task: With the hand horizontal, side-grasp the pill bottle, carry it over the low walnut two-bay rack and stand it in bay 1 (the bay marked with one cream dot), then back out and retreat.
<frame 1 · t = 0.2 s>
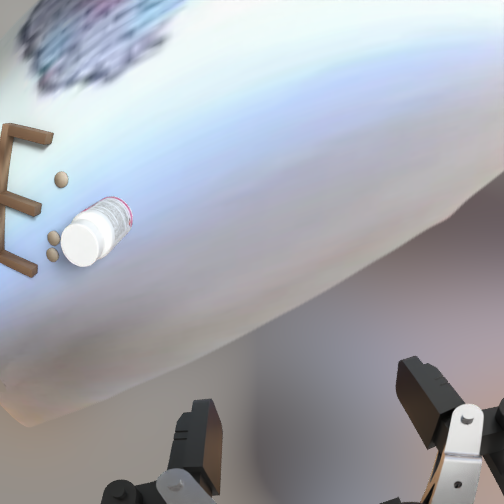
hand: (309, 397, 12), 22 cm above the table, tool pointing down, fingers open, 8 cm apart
slot rack: (23, 201, 30), on the table
pill bottle: (114, 216, 31), on the table
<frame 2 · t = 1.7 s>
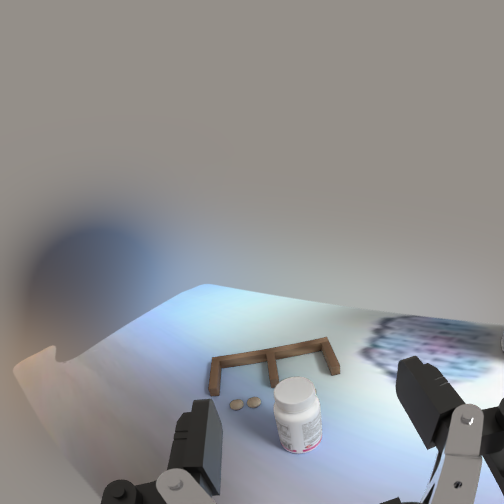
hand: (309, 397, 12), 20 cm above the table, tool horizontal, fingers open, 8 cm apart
slot rack: (273, 373, 42), on the table
pill bottle: (301, 439, 30), on the table
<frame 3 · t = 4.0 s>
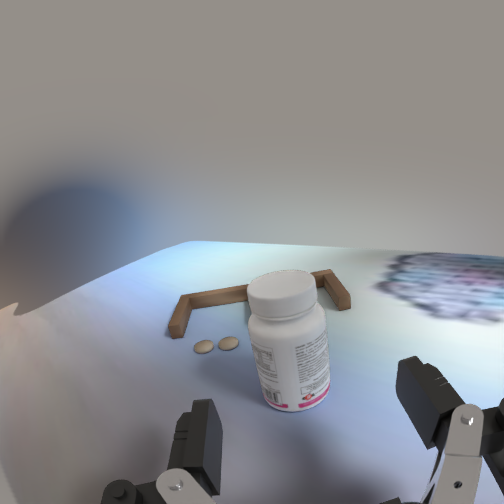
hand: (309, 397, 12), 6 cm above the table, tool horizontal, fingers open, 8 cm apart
slot rack: (259, 311, 33), on the table
pill bottle: (296, 392, 20), on the table
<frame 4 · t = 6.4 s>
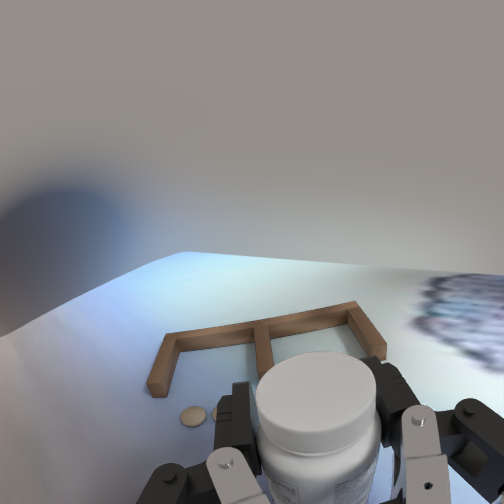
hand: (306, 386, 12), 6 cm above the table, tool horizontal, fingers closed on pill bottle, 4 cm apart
slot rack: (266, 362, 24), on the table
pill bottle: (321, 496, 12), on the table, touching gripper
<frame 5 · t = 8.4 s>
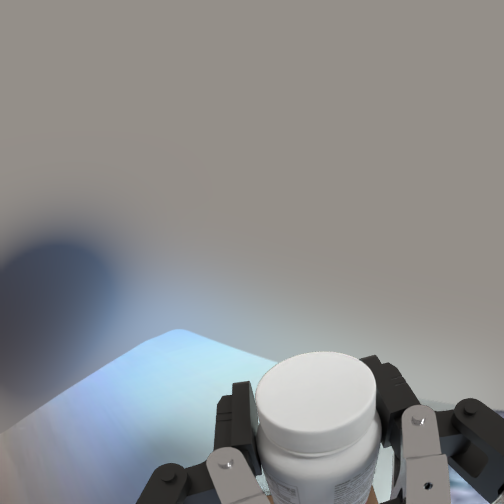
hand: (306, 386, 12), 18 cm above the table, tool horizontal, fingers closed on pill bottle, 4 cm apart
pill bottle: (321, 497, 12), point 11 cm above the table, touching gripper
when the fingers open (7 cm above the table, at t = 10.9 s): pill bottle drops 1 cm, on the table.
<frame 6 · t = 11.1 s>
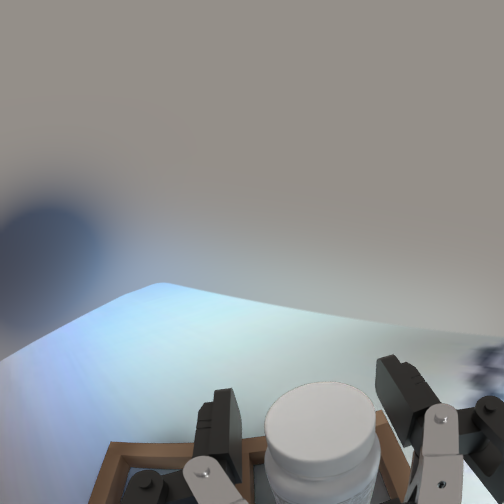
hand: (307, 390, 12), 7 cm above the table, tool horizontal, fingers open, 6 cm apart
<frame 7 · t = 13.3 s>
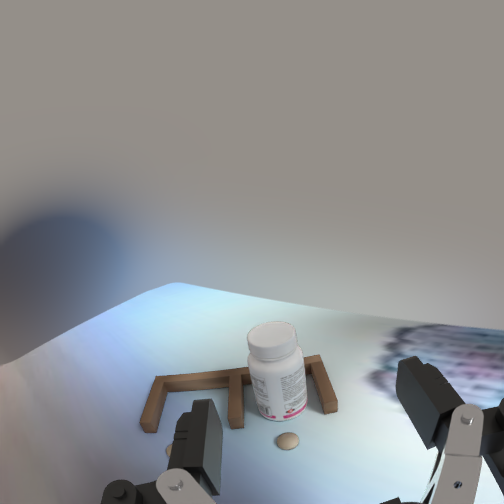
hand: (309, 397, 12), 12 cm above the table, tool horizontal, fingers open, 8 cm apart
slot rack: (237, 407, 27), on the table
pill bottle: (283, 406, 27), on the table
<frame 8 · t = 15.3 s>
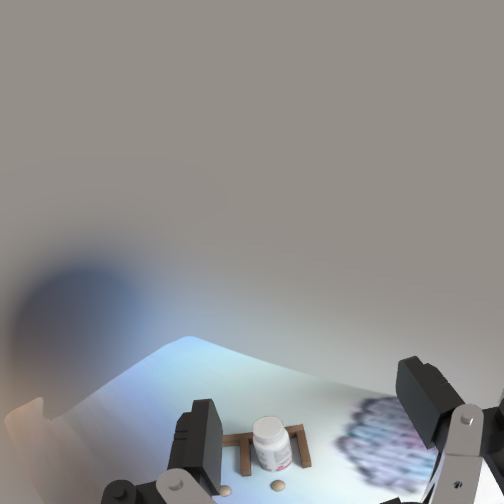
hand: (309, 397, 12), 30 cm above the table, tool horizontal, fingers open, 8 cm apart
slot rack: (246, 460, 38), on the table
pill bottle: (276, 460, 37), on the table
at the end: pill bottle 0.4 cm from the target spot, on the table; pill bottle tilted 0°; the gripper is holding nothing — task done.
